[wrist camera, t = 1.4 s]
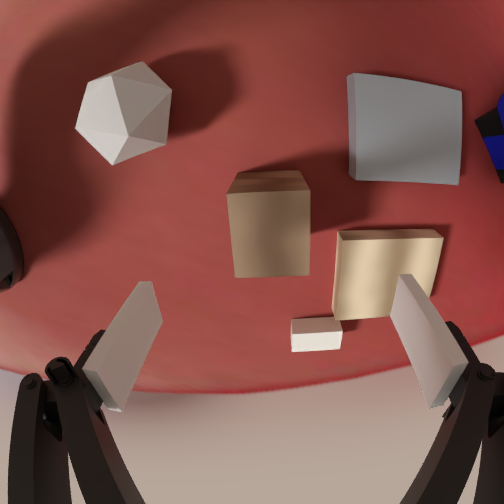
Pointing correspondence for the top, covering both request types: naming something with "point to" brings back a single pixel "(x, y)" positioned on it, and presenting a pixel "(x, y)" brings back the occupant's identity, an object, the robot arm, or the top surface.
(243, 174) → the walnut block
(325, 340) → the white brick
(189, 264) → the top surface
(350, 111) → the grey slab
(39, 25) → the top surface
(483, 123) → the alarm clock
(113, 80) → the die
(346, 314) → the oak slab
